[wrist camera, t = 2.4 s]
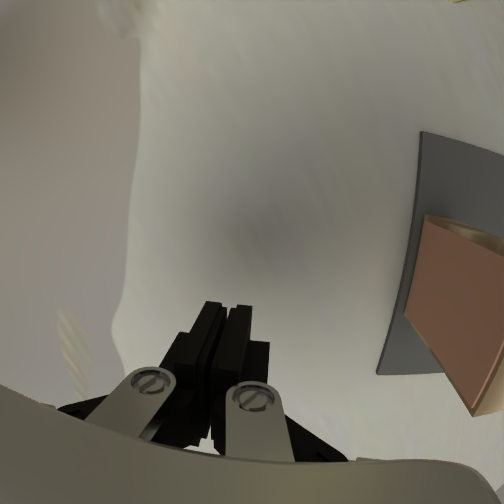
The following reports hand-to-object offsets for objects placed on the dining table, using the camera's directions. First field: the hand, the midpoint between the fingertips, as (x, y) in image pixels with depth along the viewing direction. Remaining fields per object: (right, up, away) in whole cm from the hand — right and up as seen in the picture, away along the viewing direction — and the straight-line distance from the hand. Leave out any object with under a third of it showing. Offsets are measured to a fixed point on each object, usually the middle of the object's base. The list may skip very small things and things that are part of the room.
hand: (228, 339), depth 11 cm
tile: (+14, +2, +10) cm, 17 cm away
